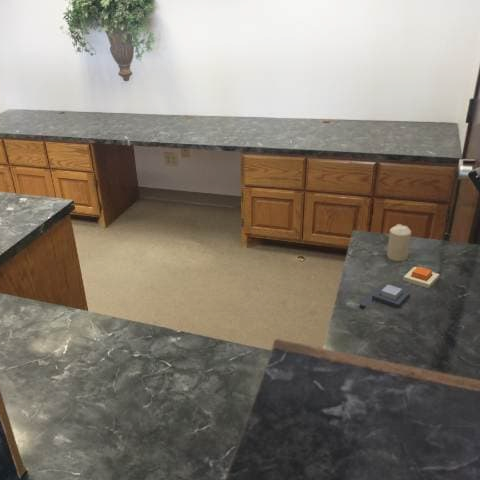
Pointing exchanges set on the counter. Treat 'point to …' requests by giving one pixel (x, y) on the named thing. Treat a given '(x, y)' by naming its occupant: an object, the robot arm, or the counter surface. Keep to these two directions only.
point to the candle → (399, 243)
